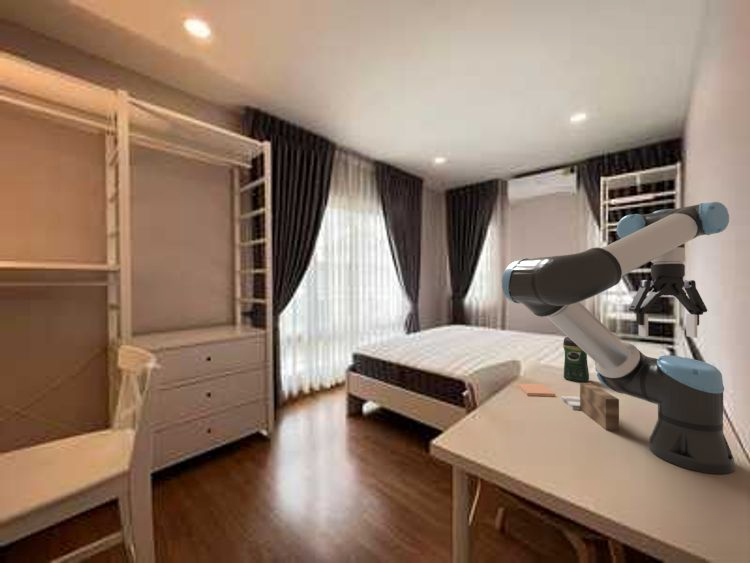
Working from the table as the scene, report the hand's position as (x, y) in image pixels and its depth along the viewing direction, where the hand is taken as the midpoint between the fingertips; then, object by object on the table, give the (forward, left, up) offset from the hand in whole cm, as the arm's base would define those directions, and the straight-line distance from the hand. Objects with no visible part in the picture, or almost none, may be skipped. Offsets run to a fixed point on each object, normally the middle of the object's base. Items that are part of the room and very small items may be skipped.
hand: (667, 336), depth 99 cm
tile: (+26, +26, -26) cm, 45 cm away
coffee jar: (+51, +3, -27) cm, 58 cm away
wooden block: (+10, +16, -27) cm, 33 cm away
